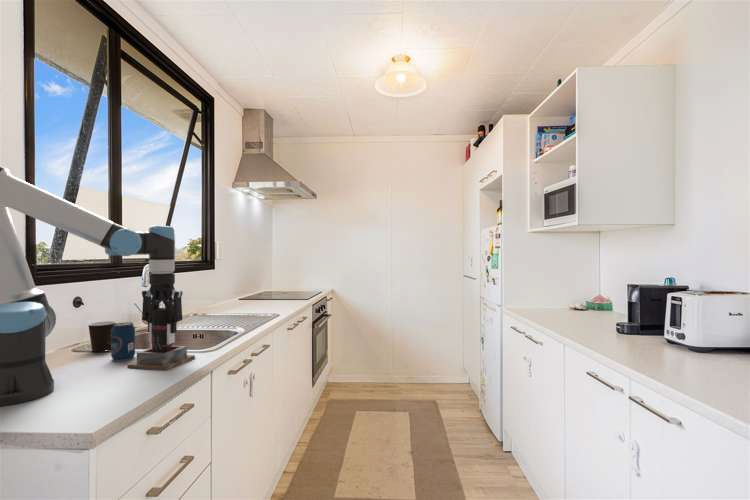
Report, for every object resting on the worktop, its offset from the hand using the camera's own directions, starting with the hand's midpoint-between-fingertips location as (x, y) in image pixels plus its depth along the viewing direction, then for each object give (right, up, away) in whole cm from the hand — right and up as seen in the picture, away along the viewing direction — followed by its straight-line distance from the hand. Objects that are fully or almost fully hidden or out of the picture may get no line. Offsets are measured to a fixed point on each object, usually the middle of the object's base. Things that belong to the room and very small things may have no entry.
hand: (162, 342), depth 132 cm
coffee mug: (-31, -7, +18) cm, 37 cm away
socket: (0, -7, 0) cm, 7 cm away
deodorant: (0, -4, 0) cm, 4 cm away
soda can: (-16, -7, +5) cm, 18 cm away
